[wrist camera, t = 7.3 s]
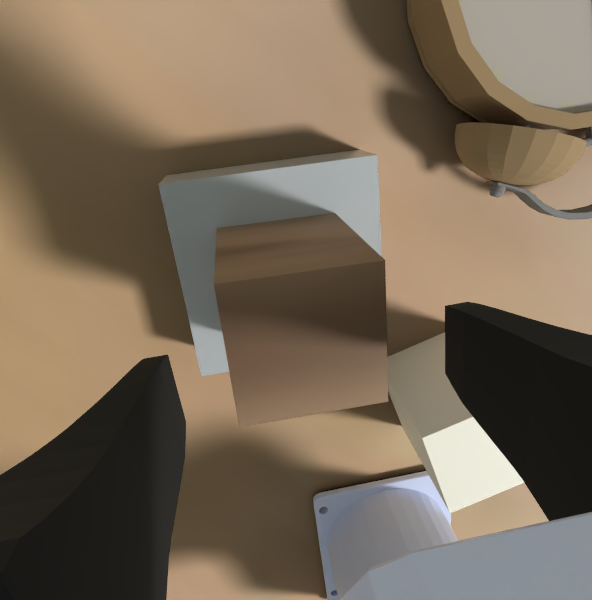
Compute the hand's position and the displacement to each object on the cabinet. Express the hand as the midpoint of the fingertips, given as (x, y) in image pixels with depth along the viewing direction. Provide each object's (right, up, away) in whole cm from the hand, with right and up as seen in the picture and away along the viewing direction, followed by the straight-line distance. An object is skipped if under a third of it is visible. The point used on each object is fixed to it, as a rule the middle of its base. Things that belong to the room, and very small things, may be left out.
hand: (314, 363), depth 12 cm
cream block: (+7, -2, +12) cm, 14 cm away
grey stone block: (-1, +4, +9) cm, 10 cm away
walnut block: (-1, +3, +6) cm, 7 cm away
